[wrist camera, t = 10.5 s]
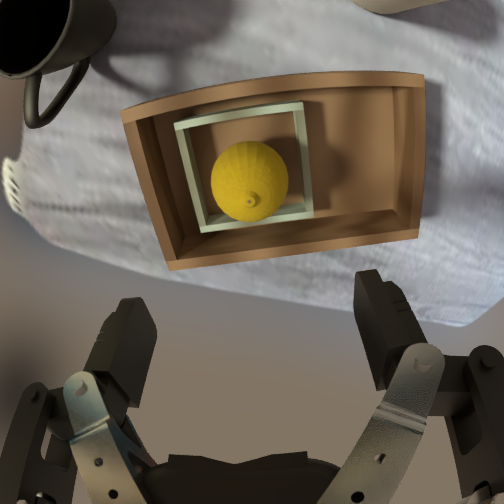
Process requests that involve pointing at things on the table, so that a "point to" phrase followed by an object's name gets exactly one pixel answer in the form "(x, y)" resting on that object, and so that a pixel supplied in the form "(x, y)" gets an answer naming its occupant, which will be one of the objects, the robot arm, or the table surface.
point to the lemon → (249, 181)
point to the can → (393, 5)
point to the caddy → (295, 158)
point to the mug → (51, 45)
